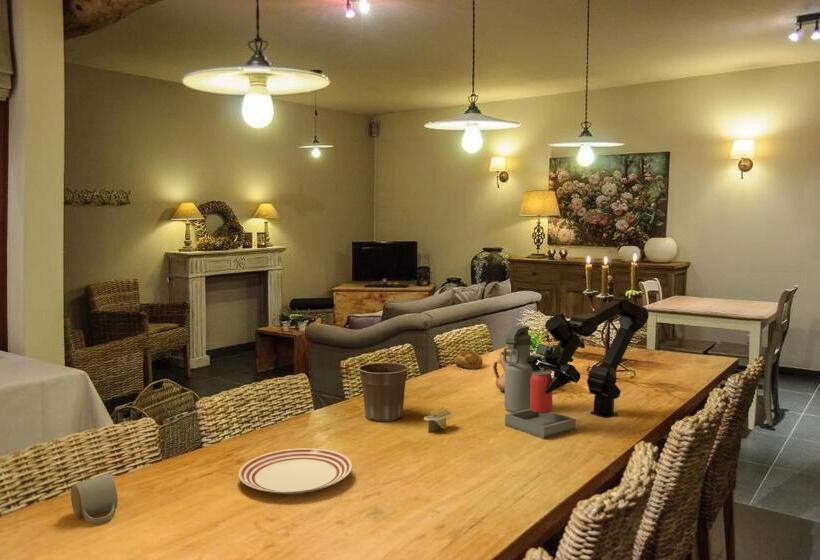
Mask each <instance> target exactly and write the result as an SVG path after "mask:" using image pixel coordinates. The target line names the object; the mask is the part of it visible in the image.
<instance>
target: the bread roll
mask: <svg viewBox="0 0 820 560" xmlns="http://www.w3.org/2000/svg"><path fill="white" fill-rule="evenodd" d="M483 362H484V361H483V358H482V356H481V354H479V353H477V352H475V351H467V350H463V351H460V352H459V353H458V354H457V355H456V357H455V358H454V364H455V365H456V366H457V367H459V366H460V368H463V369H465V368H466V369H465V370H478V369H479V368H481V367H482V366H483Z"/></svg>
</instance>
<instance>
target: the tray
mask: <svg viewBox="0 0 820 560" xmlns="http://www.w3.org/2000/svg"><path fill="white" fill-rule="evenodd" d="M504 418H505V419H504V426H505V427H508V428H511V429H514V430H516V429H517V431H519V430H520V432H522V431H523V432H522V433H525V432H526V433H525V434H528V433H529V435H531V434H532V436H533V435H534V437H536V436H537V437H536V438H539V437H541V438H540V439H542V438H543V440H546V439H545V438H547V439H550V438H554V437H556V436H560V434H561V435H563V433H565V434H568V433H572V432H575V430H576V431H577V418H573V417H572V416H571V417H570V416H568V415H564V414H561V413H557V412H554V411H551V412H549V413H543V414H541V413H535V412H533V411H531V409H527V410H522V411H518V412H510V413H505V415H504ZM571 431H572V432H571ZM567 432H568V433H567ZM553 436H554V437H553ZM549 437H550V438H549Z"/></svg>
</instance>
